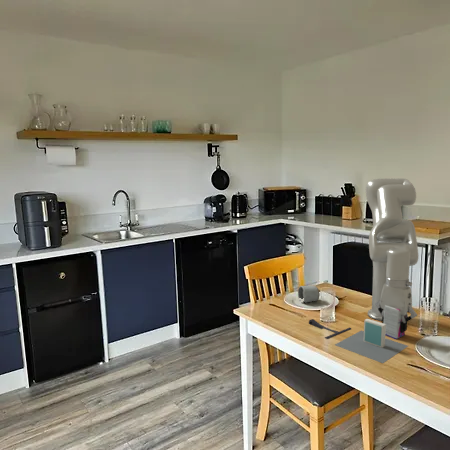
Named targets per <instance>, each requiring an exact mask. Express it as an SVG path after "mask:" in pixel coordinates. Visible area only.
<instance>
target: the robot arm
mask: <svg viewBox="0 0 450 450" xmlns="http://www.w3.org/2000/svg"><path fill="white" fill-rule="evenodd" d="M365 197H366V200H367V204H368V205H369V208H370V210H371V213H372V224H373V225H372V228H371V229H370V232H369V236H368V249H369V250H368V251H369V257H370V259H371V261H372V266H373V267H372V295H371V309H368V311H367V316H369V318H371V319H372V320H373V319H374V320H375V321H378V322H381V323H383V322H384V310H385V305H386V306H389V307H392V308H395V309H398V310H400V315H401V319H402V322H401V326H400V332H401V333H403V332H404V331H405V332H406V331H407V330H408V322H410V321H411V320H413V319H414V318H416V317H417V316H418V314H417V312H416V311H415V310H414V308H413V297H412V289H411V287H412V285H413V282H412V281H410V278H409V276H410V267H413V266H415V265H416V264H418V261H419V249H418V241H417V239H418V238H417V233H416V227H415V225H414V223H413V221H412V220H410V219H406V218H403V214H402V213H403V211H402V206H412V205H414V204H415V203H416V201H417V191H416V188H415V186H414V184H413V183H411V181H410V180H409V179H406V178H375V179H371V180H369V181H367V183H366V185H365ZM378 241H380V242H378ZM408 313H409V314H410V315H409V314H408ZM408 315H409V316H408Z"/></svg>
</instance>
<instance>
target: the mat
mask: <svg viewBox="0 0 450 450" xmlns="http://www.w3.org/2000/svg"><path fill="white" fill-rule="evenodd" d="M334 346H336V347H339V348H342V349H345V350H347V351H349V352H351V353H355V354H358V355H359V356H362V357H365V358H367V359H370V360H373V361H375V362H378V363H381V364H384V363H386V362H387V361H390V359H391V358H393V357H395V356H396V355H398V354H399V353H400V352H402V351H404V349H406V348H408V347H409V345H408V344H404V343H400V342H398V341H395V340H393V339H392V340H391V339H389V338H387V337H385V346H384V347H383V348H381V347H378V346H375V345H373V344H370V343H367V342H364V330H362V329H361V330H359V331H358V332H356V333H354V334H352V335H350V336H348V337H347V338H344V339H343V340H341V341H339V342H337V343H335V344H334Z"/></svg>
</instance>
